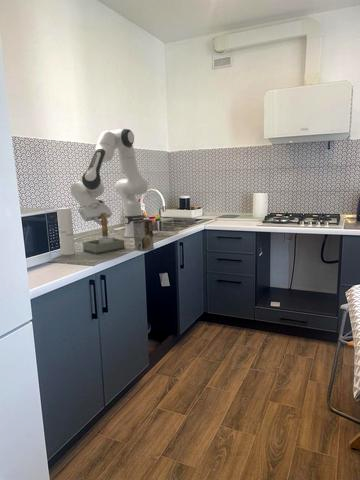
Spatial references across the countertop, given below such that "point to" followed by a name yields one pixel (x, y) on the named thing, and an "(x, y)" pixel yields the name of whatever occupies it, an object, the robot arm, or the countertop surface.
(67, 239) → the cylindrical container
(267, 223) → the countertop surface
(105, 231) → the brown wooden cylinder
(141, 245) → the coffee box
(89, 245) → the grey open box
